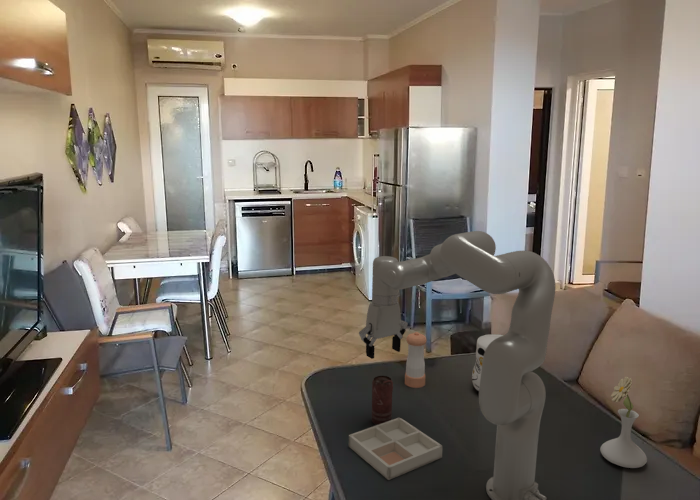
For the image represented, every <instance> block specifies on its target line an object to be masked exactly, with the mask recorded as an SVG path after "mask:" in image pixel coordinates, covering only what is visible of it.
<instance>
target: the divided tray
mask: <svg viewBox="0 0 700 500" xmlns="http://www.w3.org/2000/svg"><path fill="white" fill-rule="evenodd" d="M347 445H348V448H350V449H351V450H352V451H354V453H356V454H357V455H358V456H359V457H360V458H362V459H363V460H364V461H365V462H366V463H367V464H369V465H370V466H371V467H372V468H373V469H374V470H375V471H377V472H378V473H379V474H380V475H381V476H383V477H384V478H385V479H386V480H388V481H391V480H393V479H395V478H397V477H400V476H402V475H405V474H406V473H409V472H411V471H413V470H417V469H419V468H421V467H423V466H426V465H428V464H430V463H433V462H434V461H437V460H440V459H442V458H443V445H442V444H440V442H437V441H436V440H435V439H433V438H431V437H430V436H429V435H427V434H426V433H424V432H422V431H421V430H420V429H419V428H417V427H415V426H414V425H412V424H410V423H409V422H408V421H406V420H404V419H403V418H401V416H400V417H397V418H394V419H393V418H392V420H390V421H388V422H385V423H382V424H379V425H373V426H371V427H367V428H365V429H362V430H359V431H356V432H354V433H351V434H348V443H347Z"/></svg>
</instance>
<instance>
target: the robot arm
mask: <svg viewBox="0 0 700 500" xmlns="http://www.w3.org/2000/svg"><path fill="white" fill-rule="evenodd" d="M496 248H497V245H496V242H495V239H494V238H493V237H492V236H491V235H490V234H489V233H487V232H485V231H482V230H481V231H480V230H473V231H466V232H462V233H455V234H452V235H450V236H449V237H447V238H445V240H444V241H443V242H441V243H440V244H437V245H435V246H433V247H432V248H431V250H430V253H429V254H426V255H424V256H422V257H417V258H414V259H413V258H411V259H407V260H402V261H399V260H398V258H397V257H394V256H388V255H383V256H382V255H381V256H377V257H375V258H374V259H373V260H372V276H371V277H372V283H371V284H372V285H371V287H372V289H371V303H369V304H368V308H367V314H366V322H365V323H366V324H365V326H364V327H363V328H362V329H360V330H359V332H358V335H359V337H360V339H361V341H362V342H363V343H364V344H365V354H366V355H365V356H366V357H368V358H369V359H371V360H372V359H373V360H374V359H375V349H376V348H375V345H374V343H375V342H376V340H377V339H378V340H379V339H383V338H387V337H390V336H392V338H391V339H392V341H391V349H392V350H394V351H396V352H397V353H400V352H401V345H402V343H401V340H402V339H403V337H404V336H403V335H404V334H405V333H406V329H407V327H408V325H409V324H408V322H407V321H405V320H402V316H401V307H400V303H399V302H398V299H399V298H400V297H401V293H400V292H399V290H405V289H409V288H412V287H415V286H416V287H417V286H420V285H424V284H427V283H430V282H434V281H437V280H440V279H443V278H447V277H450V276H454V275H457V276H460V277H461V278H462V279H464V280H465V281H467V282H469V283H470V284H472V285H474V286H475V287H477V288H478V289H480V290H482V291H484V292H486V293H489V294H492V295H502V294H506V293H507V294H508V293H510V292H513V291H515V290H516V291H517V290H518V294H517V296H516V299H515V300H514V303H513V306H512V308H511V316H510V318H511V319H510V322H509V323H510V324H509V328H508V331H507V332H506V333H505V334H502V335H503V336H501V337H499V338H497V339H495V340H493V341H492V342H491V343H490V344H489V345H488V347H487V348H486V350H485V353H484V356H483V362H482V371H481V379H480V388H479V392H478V403H479V408H480V412H481V413H482V415H483V416H484V418H485V419H486V420H487V421H488V422H490V423H491V424H492V425H496V434H495V436H496V437H495V448H494V462H493V463H494V465H493V476H491V477H490V478H489V479H488V480H487V482H486V484H485V488H486V489H485V490H486V493H487V496H488V497H489V499H491V500H547V496H545V495H543V494H542V493H540V490H539V483H537V481H535V478H536V467H537V456H538V446H539V445H538V443H539V436H540V435H539V434H540V425H541V419H542V415H543V412H544V411H543V410H544V407H545V405H546V404H545V403H546V395H547V394H546V386H545V384H544V381H543V379H542V378H541V377H540V376H539V375H538V374H537V373H535V372H533V371H534V370H536V369H538V368H539V367H540V366H541V365H543V363H544V362H545V360H546V355H547V350H548V348H547V347H548V342H549V335H550V330H551V329H550V328H551V320H552V314H553V308H554V302H555V298H556V278H555V275H554V272H553V269H552V267H551V266H550V264H549V263H548V262H547V261H546V260H545V259H544V258H543V257H542V256H541V255H539V254H537V253H536V252H533V251H532V250H531V251H530V250H516V251H515V250H514V251H511V252H505V253H502V254H498V255H495V254H496V250H497V249H496Z"/></svg>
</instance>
